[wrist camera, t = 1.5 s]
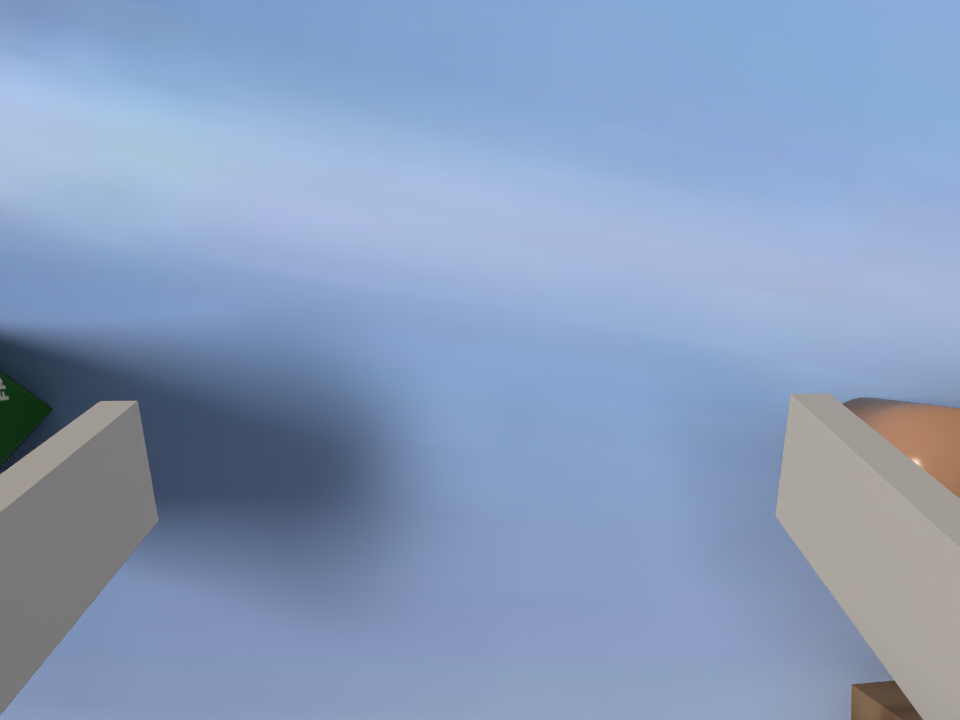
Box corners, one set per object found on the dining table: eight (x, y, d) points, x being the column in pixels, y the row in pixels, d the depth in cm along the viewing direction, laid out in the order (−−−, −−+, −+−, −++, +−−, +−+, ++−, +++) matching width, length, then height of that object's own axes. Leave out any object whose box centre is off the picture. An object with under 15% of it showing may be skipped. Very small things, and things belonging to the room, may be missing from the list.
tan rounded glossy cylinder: (912, 507, 46) (1028, 543, 38) (811, 512, 45) (910, 549, 37) (915, 396, 46) (1032, 410, 38) (814, 398, 45) (914, 411, 37)
